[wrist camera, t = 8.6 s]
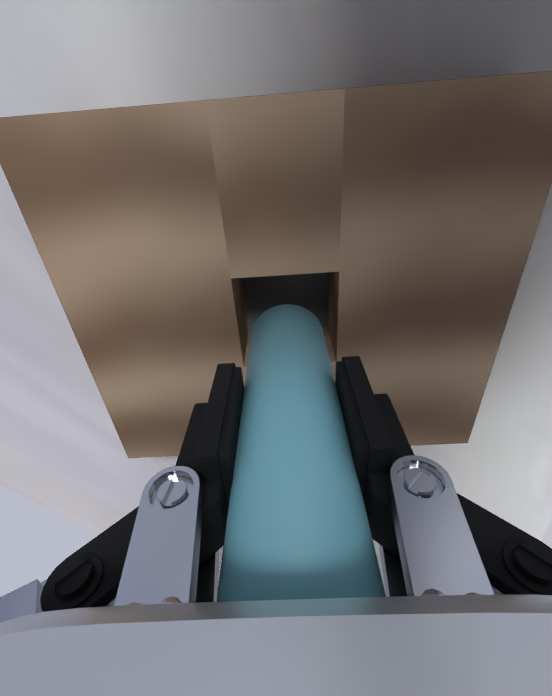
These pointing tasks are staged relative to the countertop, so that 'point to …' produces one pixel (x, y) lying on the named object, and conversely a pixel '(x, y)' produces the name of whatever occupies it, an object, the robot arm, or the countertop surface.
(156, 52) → the countertop surface
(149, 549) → the robot arm
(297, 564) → the peg
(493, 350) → the socket block
